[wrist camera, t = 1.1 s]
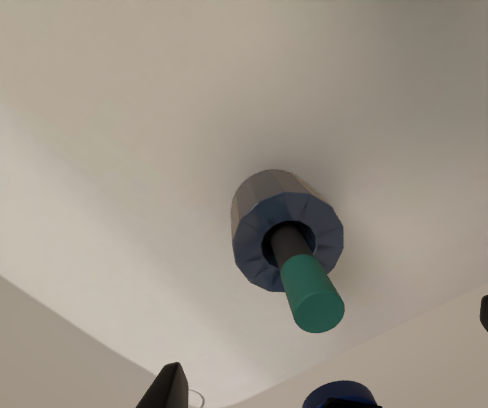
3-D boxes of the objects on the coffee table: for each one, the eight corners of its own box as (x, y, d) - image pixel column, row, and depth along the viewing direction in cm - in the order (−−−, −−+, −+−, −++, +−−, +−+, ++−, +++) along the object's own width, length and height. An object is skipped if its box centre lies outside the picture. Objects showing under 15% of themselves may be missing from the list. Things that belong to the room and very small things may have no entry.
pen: (290, 204, 17) (353, 298, 9) (281, 227, 18) (332, 338, 9) (265, 196, 17) (305, 286, 8) (257, 220, 18) (286, 328, 9)
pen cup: (326, 182, 17) (362, 210, 13) (294, 255, 19) (317, 303, 14) (246, 157, 17) (254, 177, 12) (220, 235, 18) (219, 280, 14)
